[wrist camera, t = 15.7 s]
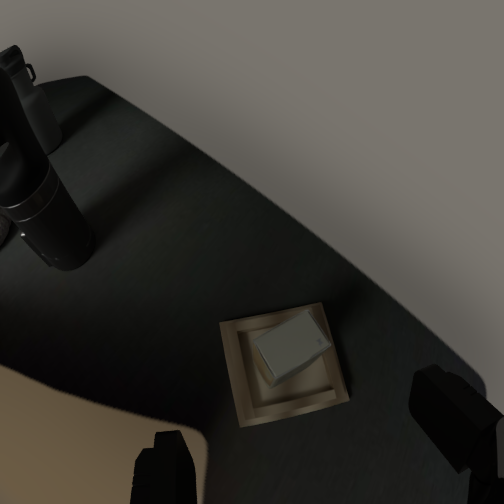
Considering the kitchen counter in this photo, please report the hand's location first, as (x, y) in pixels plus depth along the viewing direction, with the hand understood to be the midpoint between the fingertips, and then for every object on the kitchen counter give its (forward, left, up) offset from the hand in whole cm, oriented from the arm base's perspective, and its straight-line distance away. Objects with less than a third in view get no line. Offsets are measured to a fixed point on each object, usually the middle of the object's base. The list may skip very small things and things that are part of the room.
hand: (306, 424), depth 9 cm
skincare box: (+4, +7, -30) cm, 31 cm away
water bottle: (-39, +63, -31) cm, 80 cm away
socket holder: (+4, +7, -31) cm, 32 cm away
